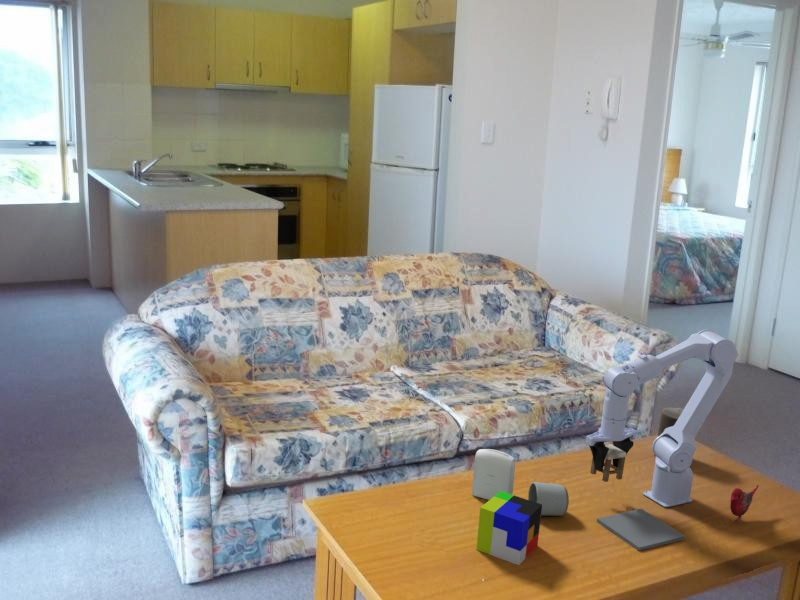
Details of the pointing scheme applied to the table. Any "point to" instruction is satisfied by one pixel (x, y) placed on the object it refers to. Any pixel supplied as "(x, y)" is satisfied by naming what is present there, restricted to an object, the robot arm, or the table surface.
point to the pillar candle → (668, 418)
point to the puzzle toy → (509, 527)
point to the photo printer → (492, 473)
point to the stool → (611, 454)
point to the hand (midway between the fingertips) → (607, 468)
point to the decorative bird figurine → (741, 502)
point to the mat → (640, 529)
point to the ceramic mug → (549, 498)
